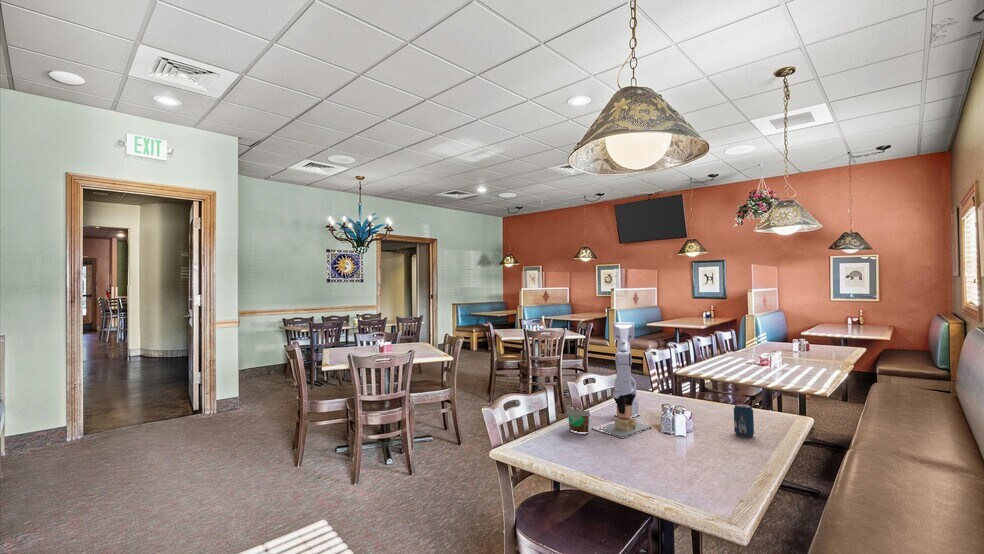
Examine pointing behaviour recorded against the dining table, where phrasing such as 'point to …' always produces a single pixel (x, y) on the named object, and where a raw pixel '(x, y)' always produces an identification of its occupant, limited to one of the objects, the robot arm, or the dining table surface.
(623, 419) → the oak base block
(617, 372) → the robot arm
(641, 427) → the slate board
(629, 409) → the terracotta block
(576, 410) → the food container
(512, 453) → the dining table surface
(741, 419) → the soda can
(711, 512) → the dining table surface
